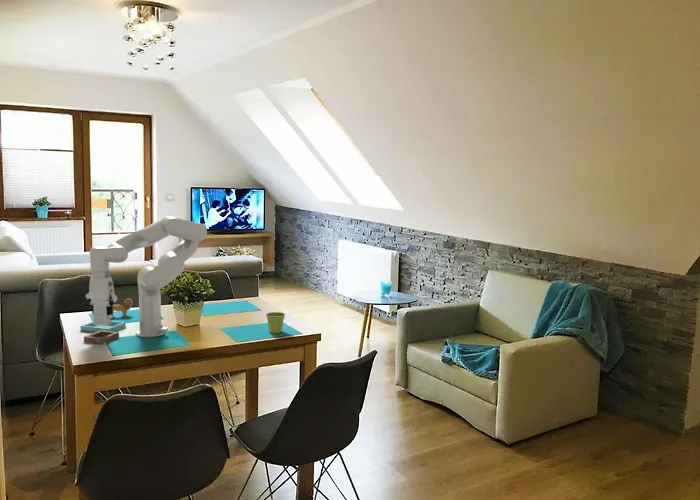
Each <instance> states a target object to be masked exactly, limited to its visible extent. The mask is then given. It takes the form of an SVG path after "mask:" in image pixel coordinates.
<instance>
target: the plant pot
mask: <svg viewBox="0 0 700 500" xmlns="http://www.w3.org/2000/svg"><path fill="white" fill-rule="evenodd" d="M265 316H266V319H267V324H268V331H269V333H270V334H271V333H272V334H279V333H282V332H283V327H284V320H285V317H286V313H285V312H281V311H273V312H271V311H270V312H267V313H265Z"/></svg>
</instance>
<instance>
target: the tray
mask: <svg viewBox="0 0 700 500" xmlns="http://www.w3.org/2000/svg"><path fill="white" fill-rule="evenodd" d="M126 324H127V323H126V322H124V321H117V320H116V321H115V320H110V324H109V325H107V326H103V325H94V320H93V321H91V322H88V323H84V324H82V325H80V332H86V333H91V334H93V333H95V332H98V331H101V330H103V331H111V332H119V331H121V330H124V329H125V328H127V327H126V326H127V325H126Z"/></svg>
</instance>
